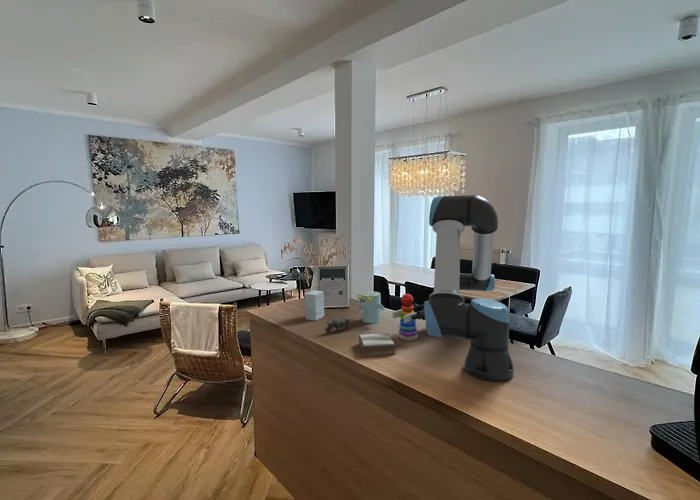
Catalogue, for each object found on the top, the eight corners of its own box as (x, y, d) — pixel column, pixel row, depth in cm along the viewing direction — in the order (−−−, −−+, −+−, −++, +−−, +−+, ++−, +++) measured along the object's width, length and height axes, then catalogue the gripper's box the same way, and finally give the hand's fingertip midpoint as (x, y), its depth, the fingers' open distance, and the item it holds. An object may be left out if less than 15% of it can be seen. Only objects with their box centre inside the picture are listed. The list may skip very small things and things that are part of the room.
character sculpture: (348, 318, 177) (347, 291, 175) (366, 313, 183) (366, 288, 181) (372, 329, 160) (372, 299, 159) (392, 323, 167) (392, 295, 165)
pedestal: (395, 354, 132) (395, 343, 132) (363, 356, 131) (363, 346, 131) (388, 342, 144) (388, 332, 144) (359, 344, 143) (358, 334, 143)
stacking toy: (416, 334, 152) (417, 291, 149) (418, 341, 144) (419, 296, 141) (398, 334, 153) (398, 291, 150) (398, 341, 145) (399, 296, 142)
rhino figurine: (321, 333, 156) (321, 320, 155) (347, 327, 164) (347, 314, 163) (326, 336, 153) (325, 322, 152) (352, 329, 160) (352, 316, 159)
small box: (314, 314, 184) (313, 290, 182) (324, 316, 181) (323, 291, 179) (305, 319, 177) (304, 293, 175) (316, 320, 174) (315, 294, 172)
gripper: (454, 319, 150) (416, 332, 137) (420, 310, 166) (383, 320, 152) (454, 302, 150) (416, 313, 136) (420, 294, 165) (383, 303, 151)
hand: (398, 317), depth 144 cm, fingers closed on stacking toy, 6 cm apart
